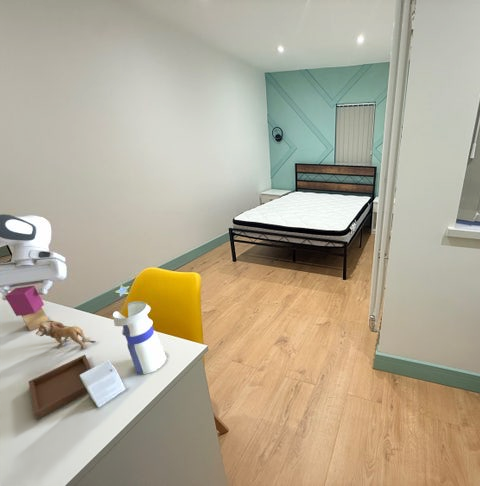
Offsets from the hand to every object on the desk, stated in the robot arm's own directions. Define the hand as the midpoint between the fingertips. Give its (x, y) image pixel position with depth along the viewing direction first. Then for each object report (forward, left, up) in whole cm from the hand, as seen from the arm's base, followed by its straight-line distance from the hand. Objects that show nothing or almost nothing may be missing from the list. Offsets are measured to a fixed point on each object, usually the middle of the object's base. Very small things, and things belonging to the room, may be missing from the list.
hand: (25, 296), depth 89 cm
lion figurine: (+16, -17, -11) cm, 26 cm away
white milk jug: (+42, -34, -11) cm, 55 cm away
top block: (0, -1, -5) cm, 5 cm away
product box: (+34, -41, -11) cm, 54 cm away
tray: (+22, -35, -11) cm, 43 cm away
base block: (0, -1, -11) cm, 11 cm away
